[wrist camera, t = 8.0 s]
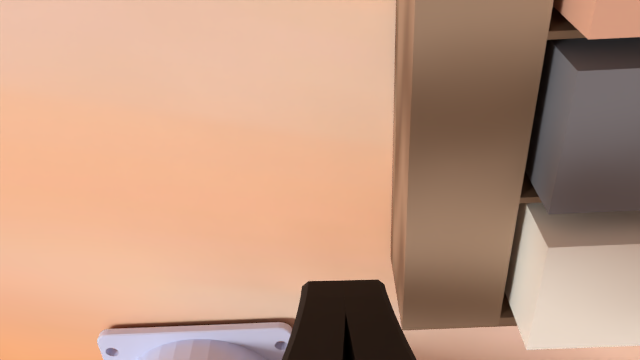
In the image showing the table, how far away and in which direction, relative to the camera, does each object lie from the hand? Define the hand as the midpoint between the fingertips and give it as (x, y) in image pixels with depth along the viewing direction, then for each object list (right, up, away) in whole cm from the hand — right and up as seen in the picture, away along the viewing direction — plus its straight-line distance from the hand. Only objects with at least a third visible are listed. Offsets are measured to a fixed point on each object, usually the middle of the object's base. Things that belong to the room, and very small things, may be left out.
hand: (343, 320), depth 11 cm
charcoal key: (+7, +5, +6) cm, 11 cm away
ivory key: (+8, +1, +9) cm, 12 cm away
